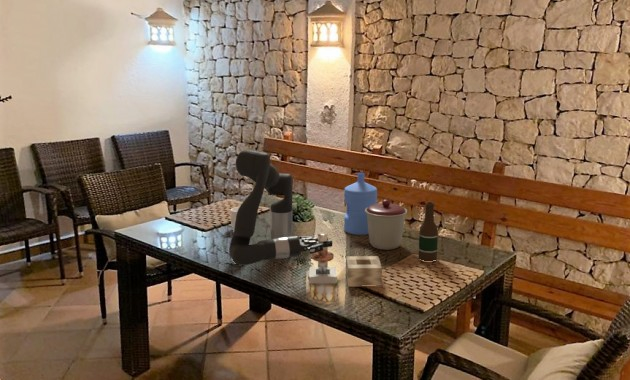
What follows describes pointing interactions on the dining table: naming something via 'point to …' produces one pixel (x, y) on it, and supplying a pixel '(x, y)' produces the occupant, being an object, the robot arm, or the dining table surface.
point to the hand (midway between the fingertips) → (329, 241)
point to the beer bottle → (428, 235)
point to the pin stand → (322, 276)
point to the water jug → (358, 205)
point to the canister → (385, 225)
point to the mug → (233, 216)
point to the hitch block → (363, 270)
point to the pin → (323, 255)
